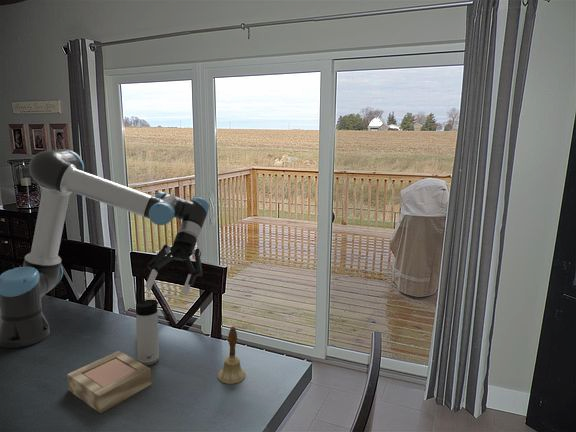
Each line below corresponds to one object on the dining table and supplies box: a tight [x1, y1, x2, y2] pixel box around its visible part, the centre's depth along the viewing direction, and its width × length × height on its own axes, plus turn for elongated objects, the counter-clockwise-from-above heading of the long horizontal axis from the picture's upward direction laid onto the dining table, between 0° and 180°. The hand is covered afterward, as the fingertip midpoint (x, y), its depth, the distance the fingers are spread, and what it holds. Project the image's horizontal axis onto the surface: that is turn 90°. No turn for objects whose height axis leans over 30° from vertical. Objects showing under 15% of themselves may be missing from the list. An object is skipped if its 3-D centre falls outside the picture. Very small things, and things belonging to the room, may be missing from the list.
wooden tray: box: [67, 350, 152, 415], centre depth 113 cm, size 16×16×5 cm
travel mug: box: [135, 299, 160, 367], centre depth 126 cm, size 6×7×20 cm
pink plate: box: [83, 359, 136, 387], centre depth 113 cm, size 10×10×2 cm
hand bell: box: [217, 326, 246, 385], centre depth 120 cm, size 8×8×16 cm
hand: (165, 291), depth 134 cm, fingers open, 13 cm apart
